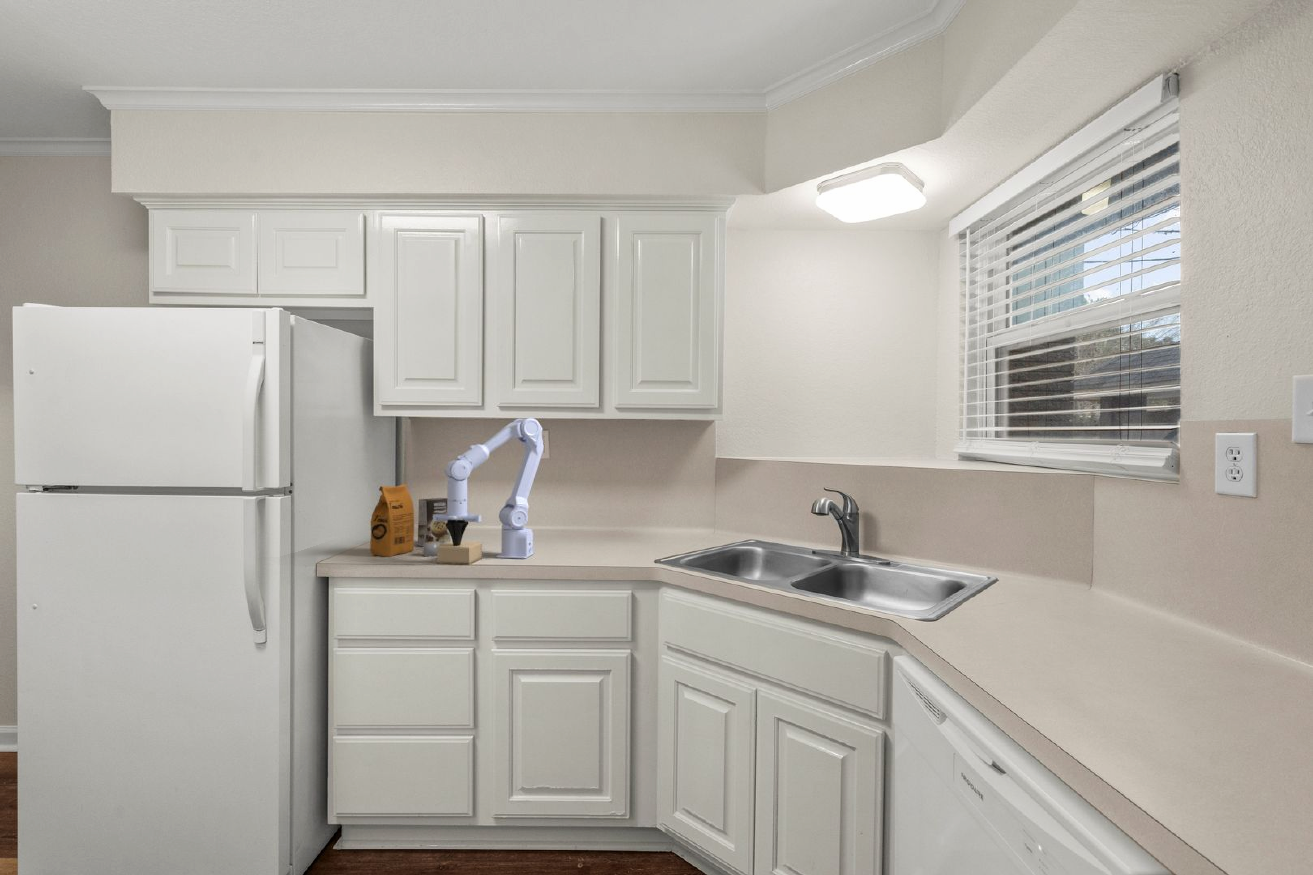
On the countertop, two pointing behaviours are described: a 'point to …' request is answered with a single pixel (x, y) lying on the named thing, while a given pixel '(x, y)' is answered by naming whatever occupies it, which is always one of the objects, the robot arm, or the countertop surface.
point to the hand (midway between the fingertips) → (456, 545)
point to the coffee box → (427, 526)
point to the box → (459, 556)
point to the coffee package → (392, 522)
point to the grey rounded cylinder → (430, 548)
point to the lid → (463, 545)
